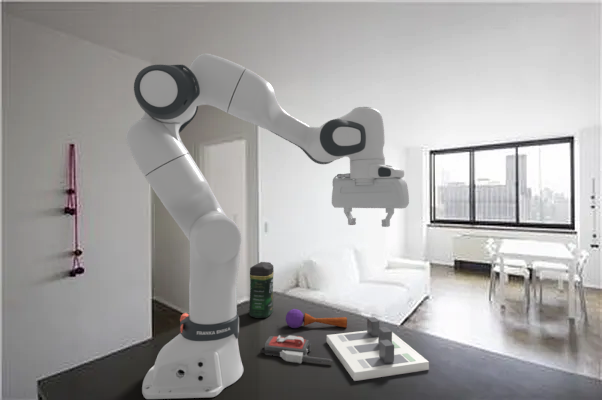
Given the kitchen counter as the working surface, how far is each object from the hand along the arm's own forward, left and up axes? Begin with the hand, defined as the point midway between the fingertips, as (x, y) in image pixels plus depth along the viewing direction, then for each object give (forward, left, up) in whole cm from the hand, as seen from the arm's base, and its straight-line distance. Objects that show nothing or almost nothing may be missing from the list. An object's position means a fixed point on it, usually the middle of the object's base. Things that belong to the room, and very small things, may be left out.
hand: (368, 225), depth 81 cm
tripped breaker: (+3, -4, -33) cm, 34 cm away
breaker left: (+7, +10, -33) cm, 35 cm away
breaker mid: (+7, +3, -33) cm, 34 cm away
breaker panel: (+3, +3, -36) cm, 36 cm away
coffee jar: (-23, +39, -36) cm, 58 cm away
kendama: (-7, +24, -36) cm, 44 cm away
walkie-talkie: (-17, +8, -36) cm, 41 cm away
